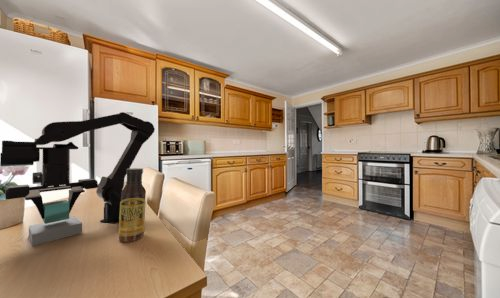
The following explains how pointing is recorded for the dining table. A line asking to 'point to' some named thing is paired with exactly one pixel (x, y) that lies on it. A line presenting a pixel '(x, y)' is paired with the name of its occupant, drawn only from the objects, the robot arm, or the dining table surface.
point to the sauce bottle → (132, 207)
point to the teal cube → (56, 211)
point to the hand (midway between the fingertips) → (56, 216)
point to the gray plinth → (54, 230)
